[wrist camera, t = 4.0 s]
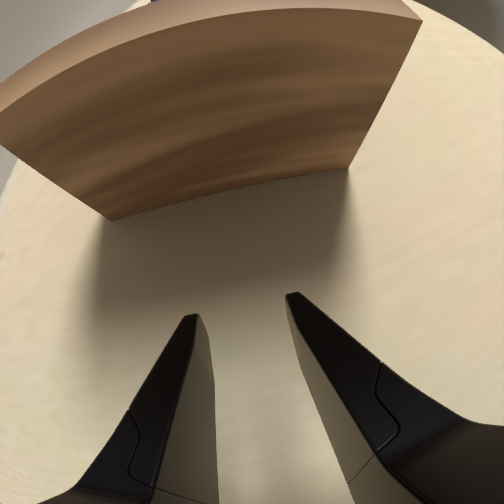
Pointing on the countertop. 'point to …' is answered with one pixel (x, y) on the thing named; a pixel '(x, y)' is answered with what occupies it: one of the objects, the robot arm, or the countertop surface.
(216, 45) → the board
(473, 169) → the countertop surface
